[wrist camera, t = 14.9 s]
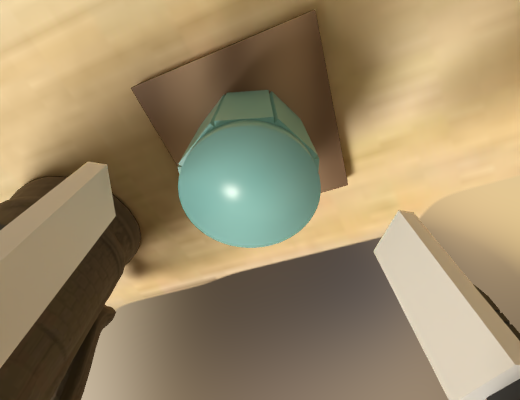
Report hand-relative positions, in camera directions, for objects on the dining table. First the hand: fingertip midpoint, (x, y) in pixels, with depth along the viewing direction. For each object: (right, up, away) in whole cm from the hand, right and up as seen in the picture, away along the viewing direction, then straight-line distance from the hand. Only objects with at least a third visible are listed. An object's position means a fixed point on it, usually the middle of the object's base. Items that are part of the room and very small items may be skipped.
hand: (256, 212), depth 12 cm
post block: (0, +5, +7) cm, 9 cm away
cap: (0, +5, +7) cm, 8 cm away
